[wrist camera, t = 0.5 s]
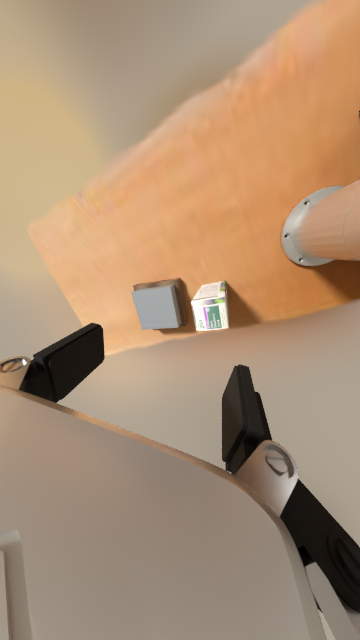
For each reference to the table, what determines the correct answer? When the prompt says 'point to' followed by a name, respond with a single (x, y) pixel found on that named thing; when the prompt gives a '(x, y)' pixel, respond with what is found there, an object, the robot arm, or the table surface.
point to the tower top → (157, 307)
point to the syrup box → (211, 307)
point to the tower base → (178, 291)
